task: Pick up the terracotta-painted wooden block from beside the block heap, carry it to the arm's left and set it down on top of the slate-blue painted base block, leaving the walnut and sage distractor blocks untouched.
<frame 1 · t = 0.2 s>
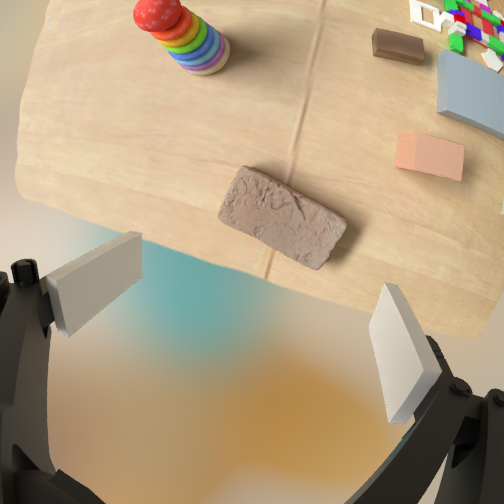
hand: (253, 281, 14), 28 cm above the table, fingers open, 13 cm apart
terracotta block: (417, 156, 34), on the table
building block set: (470, 19, 23), on the table
base block: (486, 104, 28), on the table
stacking toy: (206, 54, 35), on the table
brick: (285, 213, 41), on the table
walnut block: (394, 50, 29), on the table
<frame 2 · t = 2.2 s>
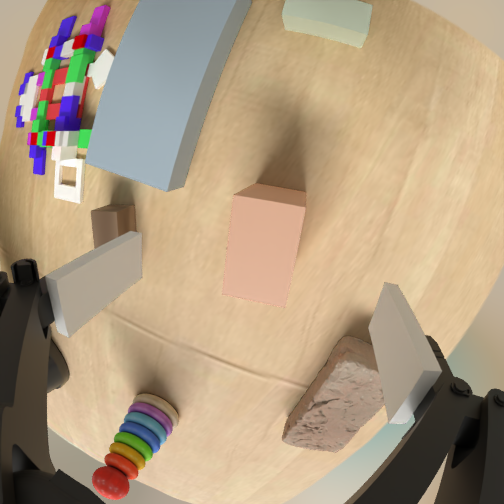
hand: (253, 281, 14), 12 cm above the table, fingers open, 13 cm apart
terracotta block: (274, 225, 26), on the table
building block set: (60, 101, 26), on the table
base block: (172, 78, 23), on the table
stacking toy: (158, 407, 39), on the table
sage block: (326, 24, 19), on the table
brick: (338, 389, 31), on the table
walnut block: (125, 235, 29), on the table
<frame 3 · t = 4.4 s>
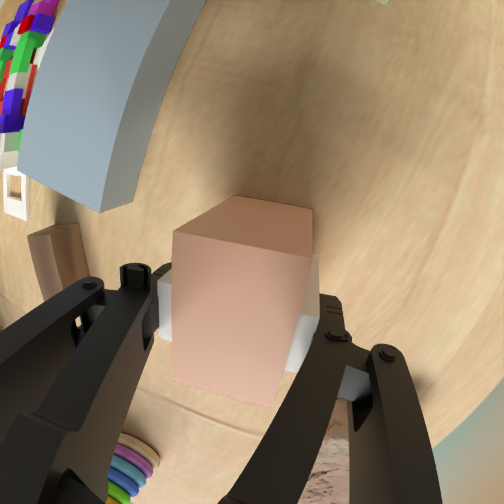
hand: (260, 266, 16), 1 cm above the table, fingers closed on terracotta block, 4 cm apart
terracotta block: (264, 258, 17), on the table, touching gripper
building block set: (11, 96, 18), on the table
base block: (124, 53, 15), on the table
stacking toy: (137, 446, 31), on the table
brick: (346, 446, 23), on the table
walnut block: (75, 262, 21), on the table
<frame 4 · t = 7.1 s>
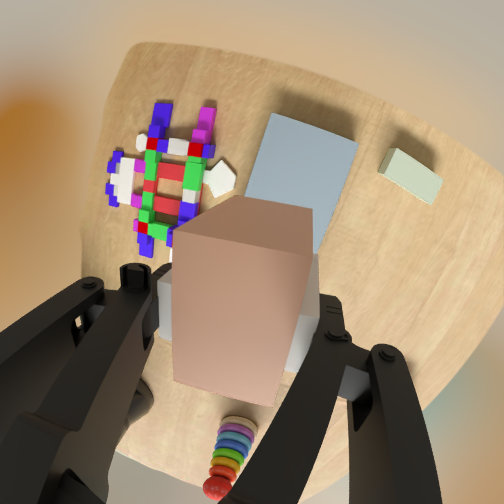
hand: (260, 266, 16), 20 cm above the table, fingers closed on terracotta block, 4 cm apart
terracotta block: (264, 258, 17), point 19 cm above the table, touching gripper
building block set: (166, 192, 38), on the table
base block: (288, 205, 35), on the table
stacking toy: (239, 424, 51), on the table
sage block: (405, 174, 31), on the table
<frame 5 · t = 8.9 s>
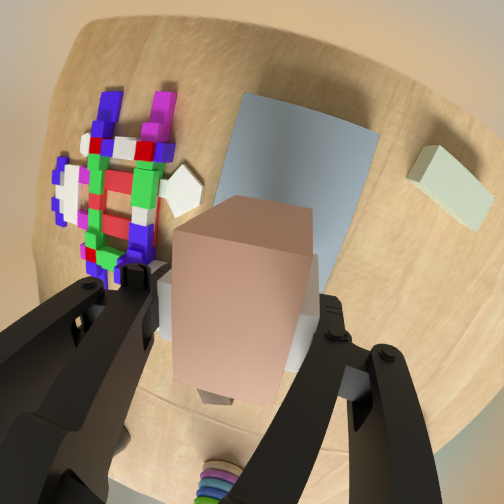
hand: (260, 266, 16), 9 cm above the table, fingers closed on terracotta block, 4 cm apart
terracotta block: (264, 258, 17), point 8 cm above the table, touching gripper
building block set: (117, 209, 28), on the table
base block: (278, 227, 25), on the table
stacking toy: (225, 468, 41), on the table
sage block: (442, 185, 20), on the table
walnut block: (217, 363, 31), on the table
when the fingers open (7 cm above the table, at t = 10.1 s): terracotta block drops 2 cm, resting on base block.
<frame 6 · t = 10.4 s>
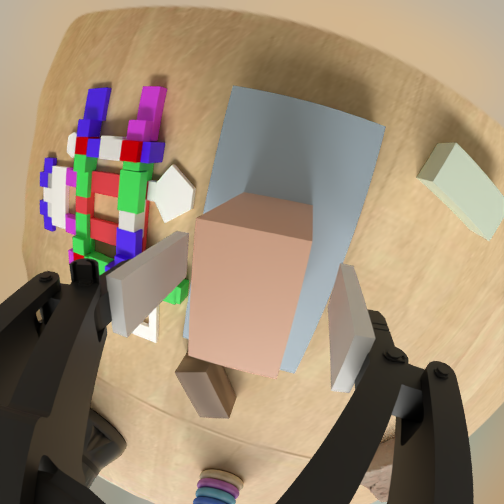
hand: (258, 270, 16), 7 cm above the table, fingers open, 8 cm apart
terracotta block: (269, 249, 19), point 3 cm above the table, touching base block
building block set: (106, 213, 26), on the table
base block: (276, 232, 23), on the table, touching terracotta block
stacking toy: (223, 476, 39), on the table
sage block: (455, 187, 18), on the table
brick: (390, 461, 31), on the table
walnut block: (212, 375, 29), on the table
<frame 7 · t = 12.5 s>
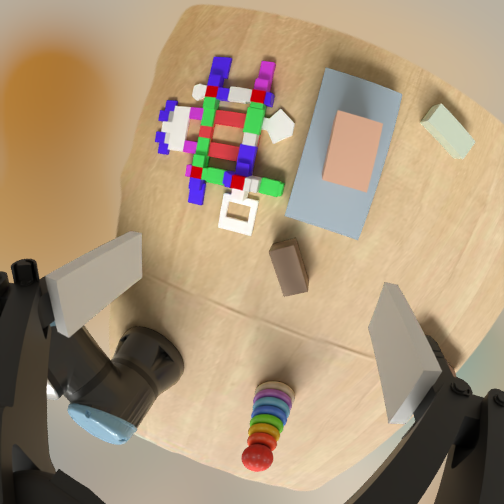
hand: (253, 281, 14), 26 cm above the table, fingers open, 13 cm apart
terracotta block: (345, 151, 32), point 3 cm above the table
building block set: (221, 140, 39), on the table
base block: (342, 152, 35), on the table
stacking toy: (275, 392, 52), on the table
sage block: (442, 132, 30), on the table
walnut block: (291, 262, 42), on the table
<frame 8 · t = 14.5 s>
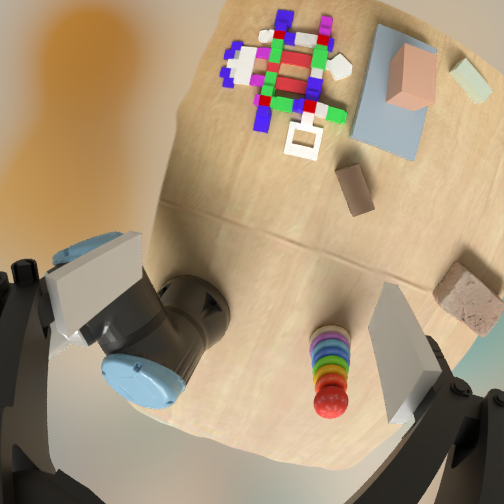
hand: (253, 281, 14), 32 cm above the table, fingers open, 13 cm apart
terracotta block: (402, 85, 31), point 3 cm above the table
building block set: (285, 77, 38), on the table
base block: (392, 92, 35), on the table
stacking toy: (329, 339, 51), on the table
sage block: (466, 83, 31), on the table
brick: (466, 296, 43), on the table
walnut block: (353, 187, 42), on the table
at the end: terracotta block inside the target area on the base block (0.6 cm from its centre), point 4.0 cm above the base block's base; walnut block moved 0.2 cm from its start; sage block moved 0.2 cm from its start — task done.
